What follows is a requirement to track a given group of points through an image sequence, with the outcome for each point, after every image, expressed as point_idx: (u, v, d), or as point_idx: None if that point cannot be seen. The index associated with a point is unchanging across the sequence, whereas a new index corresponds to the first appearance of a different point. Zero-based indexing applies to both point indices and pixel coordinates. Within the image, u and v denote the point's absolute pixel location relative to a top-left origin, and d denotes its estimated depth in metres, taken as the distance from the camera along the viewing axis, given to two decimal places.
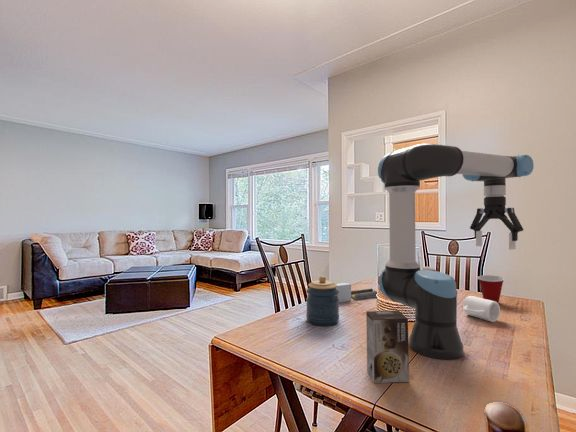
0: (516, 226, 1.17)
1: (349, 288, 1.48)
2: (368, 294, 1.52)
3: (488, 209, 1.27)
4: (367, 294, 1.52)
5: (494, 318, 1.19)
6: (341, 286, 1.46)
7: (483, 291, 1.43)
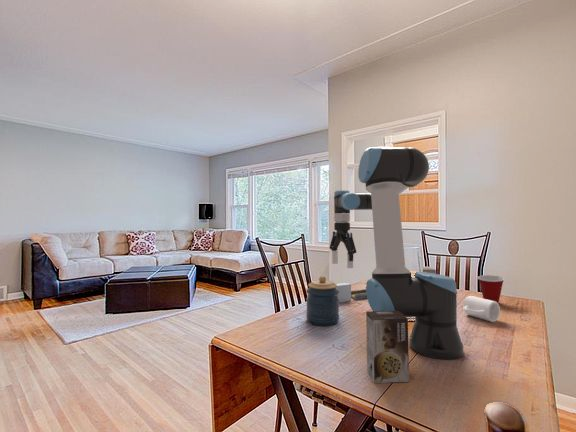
0: (350, 249, 1.39)
1: (349, 288, 1.48)
2: None
3: (338, 233, 1.49)
4: None
5: (494, 318, 1.19)
6: (341, 286, 1.46)
7: (483, 291, 1.43)
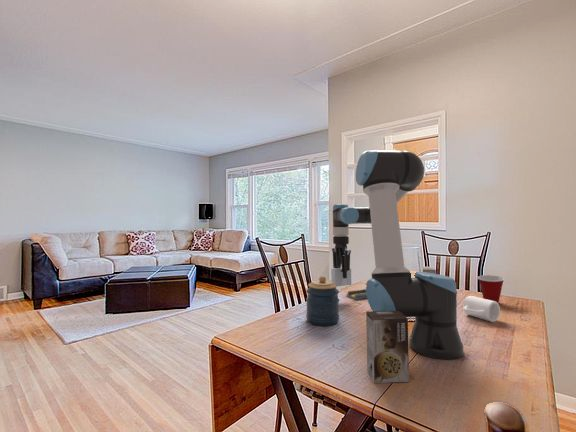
0: (344, 266, 1.43)
1: (349, 272, 1.47)
2: None
3: (336, 245, 1.49)
4: None
5: (494, 318, 1.19)
6: None
7: (483, 291, 1.43)
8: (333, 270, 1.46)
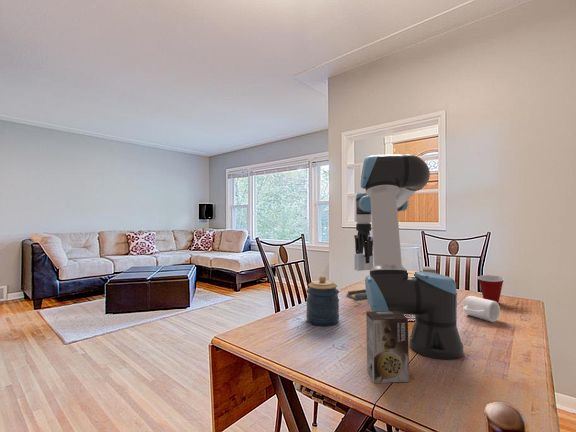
0: (368, 252, 1.50)
1: (371, 257, 1.55)
2: None
3: (359, 232, 1.57)
4: None
5: (494, 318, 1.19)
6: (364, 255, 1.54)
7: (483, 291, 1.43)
8: (356, 255, 1.54)
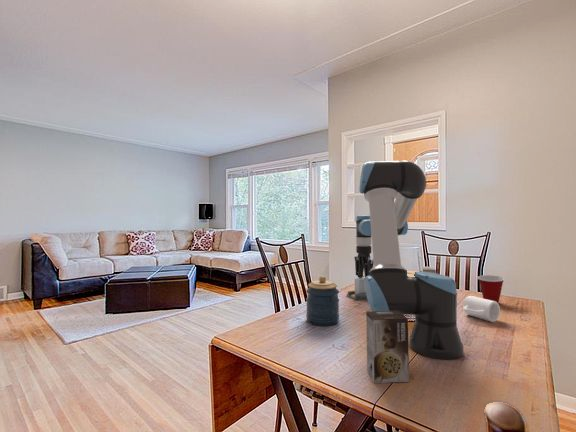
0: (368, 275, 1.50)
1: None
2: None
3: (359, 254, 1.57)
4: None
5: (494, 318, 1.19)
6: None
7: (483, 291, 1.43)
8: (356, 280, 1.54)
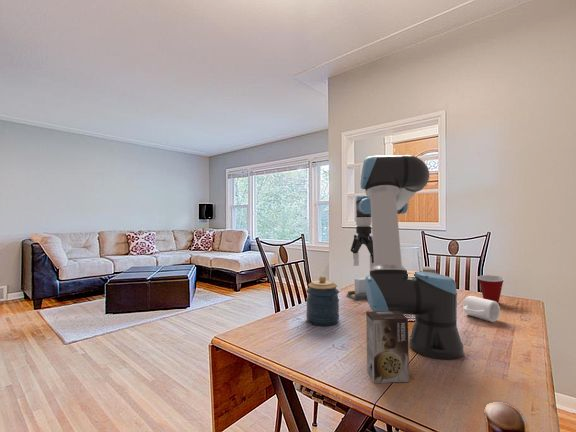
0: (373, 251, 1.47)
1: None
2: None
3: (359, 236, 1.57)
4: None
5: (494, 318, 1.19)
6: (364, 280, 1.54)
7: (483, 291, 1.43)
8: (356, 280, 1.54)
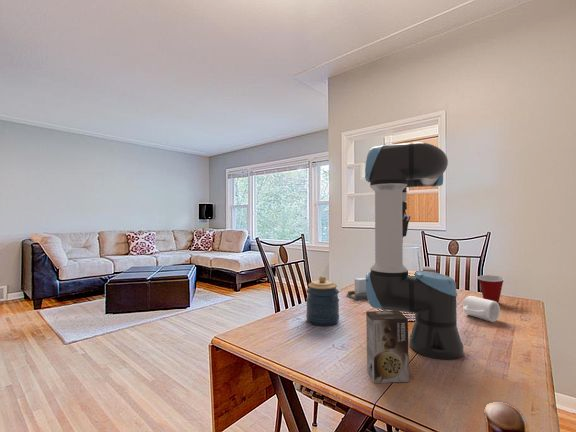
0: (402, 232, 1.41)
1: None
2: None
3: None
4: None
5: (494, 318, 1.19)
6: (364, 280, 1.54)
7: (483, 291, 1.43)
8: (356, 280, 1.54)
